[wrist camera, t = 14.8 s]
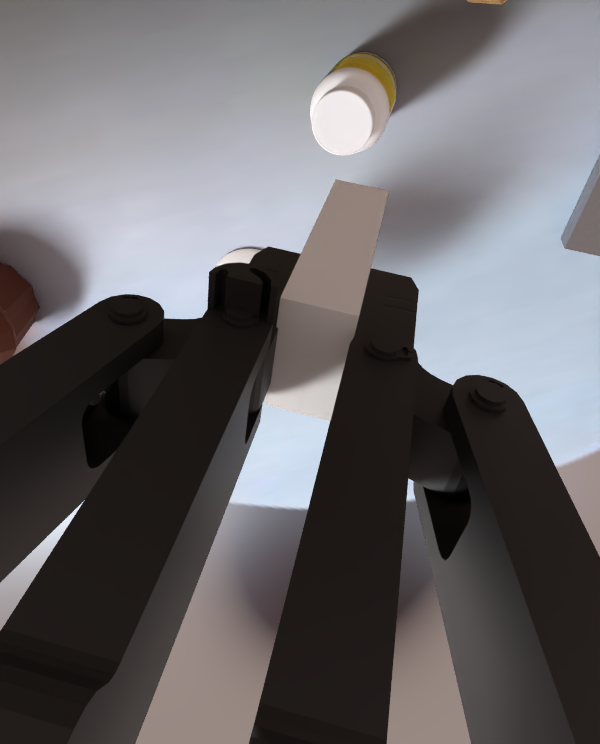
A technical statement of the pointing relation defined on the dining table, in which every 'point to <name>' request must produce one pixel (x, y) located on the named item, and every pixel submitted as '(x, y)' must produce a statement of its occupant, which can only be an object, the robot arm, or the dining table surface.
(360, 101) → the supplement bottle
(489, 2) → the potato
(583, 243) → the rail track
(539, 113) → the dining table surface
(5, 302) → the muffin
